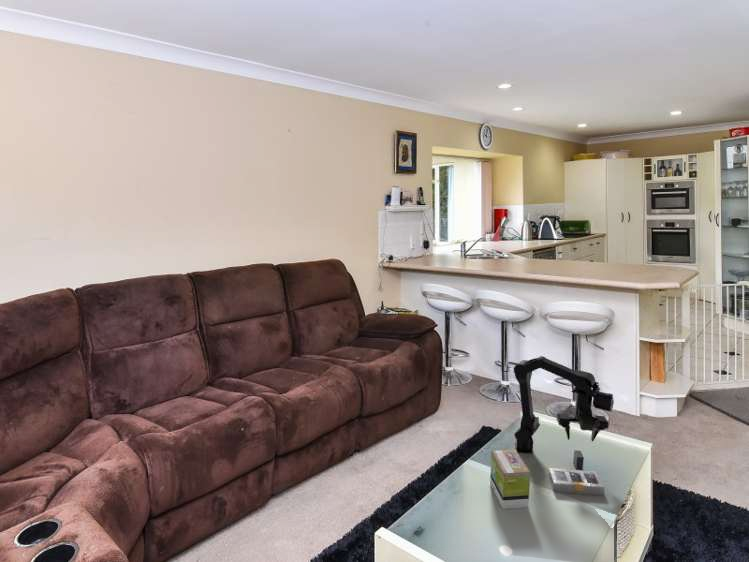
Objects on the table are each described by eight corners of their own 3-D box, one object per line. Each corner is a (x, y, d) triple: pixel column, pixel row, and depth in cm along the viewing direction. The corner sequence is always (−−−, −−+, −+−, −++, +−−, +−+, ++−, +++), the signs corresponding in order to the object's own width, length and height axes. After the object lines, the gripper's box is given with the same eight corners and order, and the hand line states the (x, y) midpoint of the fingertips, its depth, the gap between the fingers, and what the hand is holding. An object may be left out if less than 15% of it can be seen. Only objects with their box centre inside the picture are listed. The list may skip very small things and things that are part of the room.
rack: (553, 491, 189) (554, 483, 188) (548, 475, 199) (548, 467, 198) (603, 496, 186) (604, 487, 186) (596, 479, 196) (596, 471, 196)
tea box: (488, 484, 194) (490, 449, 191) (514, 482, 195) (516, 448, 192) (501, 509, 179) (504, 472, 176) (529, 508, 180) (531, 471, 177)
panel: (576, 470, 203) (577, 457, 201) (573, 463, 207) (574, 450, 206) (582, 470, 202) (583, 457, 201) (579, 463, 207) (580, 450, 206)
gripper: (564, 412, 193) (560, 449, 196) (615, 415, 190) (611, 452, 194) (557, 399, 203) (554, 434, 207) (606, 402, 201) (602, 437, 204)
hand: (580, 440), depth 203 cm, fingers open, 9 cm apart
